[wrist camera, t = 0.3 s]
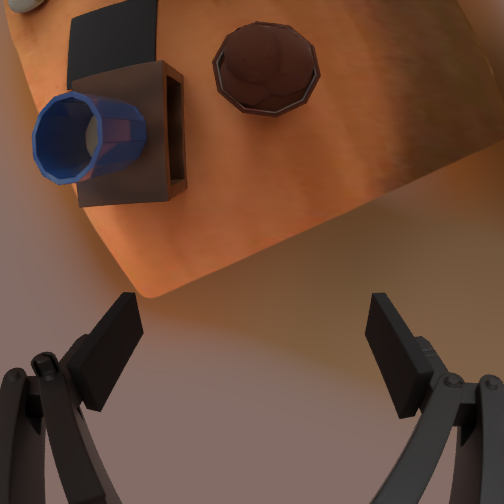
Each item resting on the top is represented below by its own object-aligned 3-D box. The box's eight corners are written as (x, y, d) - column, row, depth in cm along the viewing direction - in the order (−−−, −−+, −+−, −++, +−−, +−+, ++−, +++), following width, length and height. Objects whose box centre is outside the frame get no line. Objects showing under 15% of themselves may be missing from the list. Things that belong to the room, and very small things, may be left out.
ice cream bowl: (233, 130, 39) (216, 123, 25) (218, 53, 35) (195, 12, 21) (313, 117, 38) (340, 104, 23) (297, 41, 34) (313, -6, 20)
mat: (72, 19, 32) (71, 18, 32) (158, -6, 31) (157, -7, 31) (68, 89, 37) (66, 89, 36) (155, 69, 36) (154, 68, 35)
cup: (84, 108, 30) (31, 104, 20) (145, 96, 29) (101, 83, 20) (88, 173, 32) (36, 188, 23) (148, 166, 32) (105, 179, 22)
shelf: (105, 88, 37) (71, 81, 28) (183, 75, 36) (162, 59, 28) (111, 194, 42) (79, 207, 34) (187, 188, 42) (168, 201, 33)
